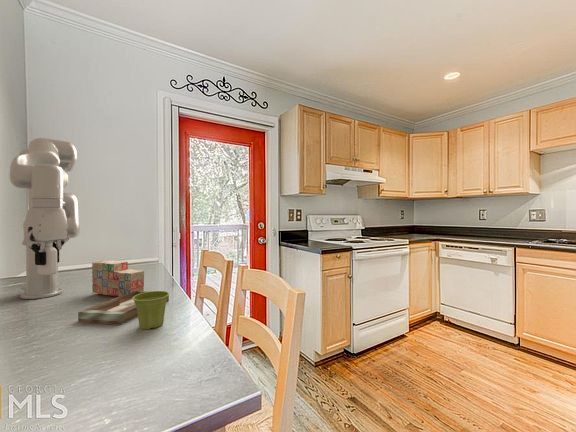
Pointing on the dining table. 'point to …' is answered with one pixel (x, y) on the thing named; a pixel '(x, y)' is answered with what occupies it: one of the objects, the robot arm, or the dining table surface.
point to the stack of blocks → (116, 278)
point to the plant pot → (151, 308)
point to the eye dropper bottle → (49, 260)
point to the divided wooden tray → (112, 310)
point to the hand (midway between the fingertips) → (47, 263)
